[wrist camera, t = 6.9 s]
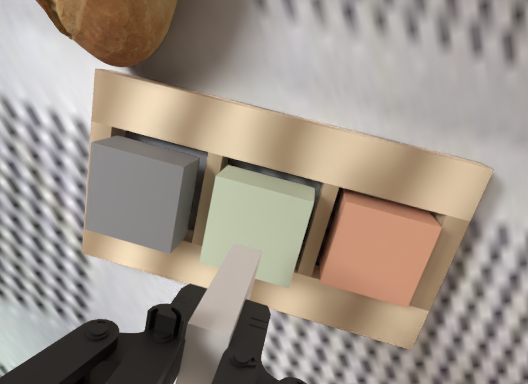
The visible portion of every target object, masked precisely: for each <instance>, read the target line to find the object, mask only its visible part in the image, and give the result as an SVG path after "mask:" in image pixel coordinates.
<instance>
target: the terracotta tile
mask: <svg viewBox="0 0 528 384" xmlns="http://www.w3.org/2000/svg"><path fill="white" fill-rule="evenodd" d="M441 229H442V227H441V226H440V224H439V223H438V222H437V221H436V220H435V219H434V217H433V216H432V215H431V214H430V213H429V211H426V210H423V209H419V208H415V207H411V206H408V205H404V204H400V203H396V202H392V201H389V200H385V199H381V198H377V197H374V196H370V195H366V194H362V193H359V192H355V191H351V190H347V189H343V190H342V193H341V196H340V200H339V203H338V206H337V209H336V212H335V215H334V218H333V221H332V225H331V228H330V231H329V234H328V237H327V240H326V243H325V247H324V250H323V253H322V256H321V259H320V283H322V284H326V285H329V286H333V287H336V288H340V289H343V290H347V291H350V292H354V293H357V294H361V295H364V296H368V297H371V298H375V299H378V300H382V301H385V302H389V303H392V304H396V305H399V306H403V307H406V308H408V306H409V303H410V301H411V299H412V296H413V294H414V292H415V289H416V287H417V285H418V282H419V280H420V278H421V275H422V273H423V271H424V268H425V266H426V264H427V261H428V259H429V257H430V255H431V252H432V250H433V248H434V245H435V243H436V241H437V238H438V236H439V234H440V231H441Z"/></svg>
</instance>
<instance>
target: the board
mask: <svg viewBox="0 0 528 384" xmlns="http://www.w3.org/2000/svg"><path fill="white" fill-rule="evenodd" d="M126 130H127V131H131V132H134V133H138V134H142V135H146V136H149V137H153V138H157V139H161V140H165V141H168V142H172V143H176V144H180V145H183V146H187V147H191V148H195V149H199V150H202V151H206V152H208V157H207V163H206V168H205V174H204V179H203V185H202V190H201V196H200V201H199V207H198V212H197V218H196V223H195V229H194V230H190V229H187V235H186V236H185V238H184V239H183V240H182V241H181V242H180V243H179V244H178V246H177V247H176V248H175V249H174V250H173V251H172V252H171V253H170V254H168V253H165V252H161V251H158V250H154V249H151V248H147V247H144V246H141V245H137V244H134V243H130V242H127V241H123V240H120V239H116V238H113V237H110V236H106V235H103V234H99V233H96V232H92V231H89V230H85V221H86V207H87V193H88V179H89V165H90V151H91V142H94V141H98V140H102V139H105V138H109V137H113V136H117V135H118V136H122V137H125V135H126ZM228 157H229V158H233V159H236V160H240V161H244V162H248V163H251V164H255V165H259V166H263V167H267V168H270V169H274V170H278V171H282V172H285V173H289V174H293V175H297V176H301V177H304V178H308V179H312V180H316V181H319V182H322V184H321V188H320V191H319V195H318V198H317V201H316V205H315V208H314V211H313V215H312V218H311V222H310V225H309V228H308V232H307V235H306V238H305V242H304V245H303V248H302V252H301V255H300V259H299V260H297V262H296V266H295V269H294V272H293V276H292V279H291V282H290V286H289V288H286V287H282V286H279V285H275V284H272V283H268V282H265V281H261V280H258V279H255V280H254V284H253V288H252V292H251V296H250V299H249V300H250V301H254V302H257V303H260V304H264V305H267V306H268V308H270V309H273V310H277V311H280V312H284V313H287V314H290V315H294V316H297V317H301V318H304V319H307V320H311V321H314V322H317V323H321V324H324V325H328V326H331V327H334V328H338V329H341V330H345V331H348V332H351V333H355V334H358V335H361V336H365V337H368V338H372V339H375V340H378V341H382V342H385V343H389V344H392V345H395V346H399V347H402V348H405V349H409V350H412V348H413V346H414V344H415V341H416V339H417V337H418V335H419V333H420V330H421V328H422V326H423V324H424V322H425V319H426V317H427V315H428V313H429V311H430V308H431V306H432V304H433V302H434V300H435V298H436V295H437V293H438V291H439V289H440V287H441V284H442V282H443V280H444V278H445V276H446V273H447V271H448V269H449V267H450V265H451V262H452V260H453V258H454V256H455V254H456V251H457V249H458V247H459V245H460V243H461V241H462V238H463V236H464V234H465V232H466V230H467V227H468V225H469V223H470V221H471V219H472V216H473V214H474V212H475V210H476V208H477V205H478V203H479V201H480V199H481V197H482V195H483V192H484V190H485V188H486V186H487V184H488V181H489V179H490V177H491V175H492V173H493V170H494V169H492V168H490V167H488V166H486V165H484V164H482V163H479V162H475V161H471V160H467V159H463V158H459V157H456V156H452V155H448V154H444V153H440V152H436V151H432V150H428V149H424V148H420V147H416V146H412V145H408V144H404V143H400V142H396V141H392V140H388V139H384V138H380V137H376V136H372V135H368V134H364V133H360V132H356V131H352V130H348V129H344V128H340V127H336V126H332V125H328V124H324V123H321V122H317V121H313V120H309V119H305V118H301V117H297V116H293V115H289V114H285V113H281V112H277V111H273V110H269V109H265V108H261V107H257V106H253V105H249V104H245V103H241V102H237V101H233V100H229V99H225V98H221V97H217V96H213V95H209V94H205V93H201V92H197V91H193V90H189V89H186V88H182V87H178V86H174V85H170V84H166V83H162V82H158V81H154V80H150V79H146V78H142V77H138V76H134V75H130V74H126V73H122V72H118V71H114V70H105V69H95V78H94V92H93V106H92V120H91V134H90V148H89V162H88V176H87V190H86V204H85V218H84V233H83V247H82V253H84V254H87V255H91V256H94V257H97V258H101V259H104V260H108V261H111V262H114V263H118V264H121V265H124V266H128V267H131V268H135V269H138V270H141V271H145V272H148V273H152V274H155V275H158V276H162V277H165V278H168V279H172V280H175V281H179V282H182V283H185V284H190V283H191V284H194V285H197V286H201V287H204V288H207V289H208V287H209V285H210V284H211V282H212V280H213V278H214V277H215V275H216V273H217V271H218V270H219V268H216V267H213V266H210V265H206V264H203V263H199V260H200V255H201V250H202V245H203V240H204V234H205V229H206V224H207V219H208V214H209V209H210V204H211V198H212V193H213V188H214V183H215V178H216V175H217V174H218V173H220V172H221V171H222V170H223V169H224V168H225V167H226V166H227V162H228ZM339 187H342V188H346V189H350V190H353V191H357V192H361V193H365V194H369V195H372V196H376V197H380V198H384V199H387V200H391V201H395V202H399V203H403V204H406V205H410V206H414V207H418V208H421V209H425V210H429V211H433V212H434V213H433V217H434V219H435V220H436V221H437V222H438V223H439V224H440V226H441V227H442V229H441V231H440V234H439V236H438V238H437V241H436V243H435V245H434V248H433V250H432V252H431V255H430V257H429V259H428V261H427V264H426V266H425V268H424V271H423V273H422V275H421V278H420V280H419V282H418V285H417V287H416V289H415V292H414V294H413V296H412V299H411V301H410V303H409V306H408V308H406V307H403V306H399V305H396V304H392V303H389V302H385V301H382V300H378V299H375V298H371V297H368V296H364V295H361V294H357V293H354V292H350V291H347V290H343V289H340V288H336V287H333V286H329V285H326V284H322V283H320V266H317V265H315V263H316V259H317V256H318V253H319V250H320V247H321V244H322V240H323V237H324V234H325V231H326V228H327V225H328V221H329V218H330V215H331V212H332V209H333V205H334V202H335V199H336V196H337V193H338V190H339Z"/></svg>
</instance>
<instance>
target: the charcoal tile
mask: <svg viewBox="0 0 528 384" xmlns="http://www.w3.org/2000/svg"><path fill="white" fill-rule="evenodd" d="M199 161H200V157H197V156H193V155H190V154H186V153H182V152H178V151H175V150H171V149H167V148H163V147H159V146H156V145H152V144H148V143H144V142H141V141H137V140H133V139H129V138H126V137H122V136H118V135H117V136H113V137H109V138H105V139H102V140H98V141H94V142H91V151H90V165H89V179H88V193H87V207H86V221H85V230H89V231H92V232H96V233H99V234H103V235H106V236H110V237H113V238H116V239H120V240H123V241H127V242H130V243H134V244H137V245H141V246H144V247H147V248H151V249H154V250H158V251H161V252H165V253H168V254H170V253H171V252H172V251H173V250H174V249H175V248H176V247H177V246H178V244H179V243H180V242H181V241H182V240H183V239H184V238H185V236H186V235H187V229H188V224H189V218H190V212H191V207H192V201H193V195H194V190H195V184H196V178H197V173H198V167H199Z"/></svg>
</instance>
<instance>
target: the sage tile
mask: <svg viewBox="0 0 528 384" xmlns="http://www.w3.org/2000/svg"><path fill="white" fill-rule="evenodd" d="M314 196H315V188H313V187H310V186H306V185H302V184H298V183H295V182H291V181H287V180H283V179H280V178H276V177H272V176H268V175H265V174H261V173H257V172H253V171H250V170H246V169H242V168H238V167H235V166H231V165H228V166H226V167H225V168H224V169H223V170H222V171H221V172H220V173H218V174H217V175H216V178H215V183H214V188H213V193H212V198H211V204H210V209H209V214H208V219H207V224H206V229H205V234H204V240H203V245H202V250H201V255H200V260H199V263H203V264H206V265H210V266H213V267H216V268H220V266H221V264H222V263H223V261H224V259H225V258H226V256H227V254H228V252H229V251H230V249H231V247H232V245H233V244H234V243H236V244H239V245H243V246H246V247H250V248H253V249H257V250H260V251H262V253H261V257H260V261H259V265H258V269H257V273H256V277H255V279H258V280H261V281H265V282H268V283H272V284H275V285H279V286H282V287H286V288H289V286H290V282H291V279H292V276H293V272H294V269H295V266H296V262H297V259H298V255H299V252H300V249H301V245H302V242H303V238H304V235H305V232H306V228H307V225H308V221H309V218H310V215H311V211H312V208H313V205H314Z"/></svg>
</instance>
